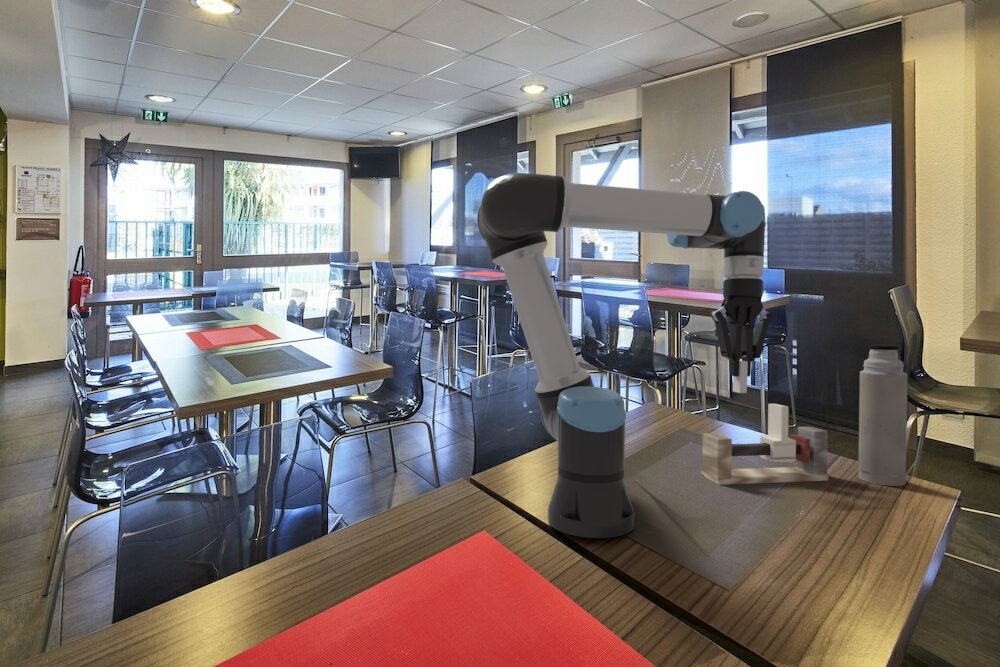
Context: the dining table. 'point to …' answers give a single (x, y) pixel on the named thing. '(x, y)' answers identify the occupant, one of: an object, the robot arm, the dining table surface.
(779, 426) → the cream t-shaped block
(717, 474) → the rail
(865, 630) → the dining table surface
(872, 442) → the thermos bottle
